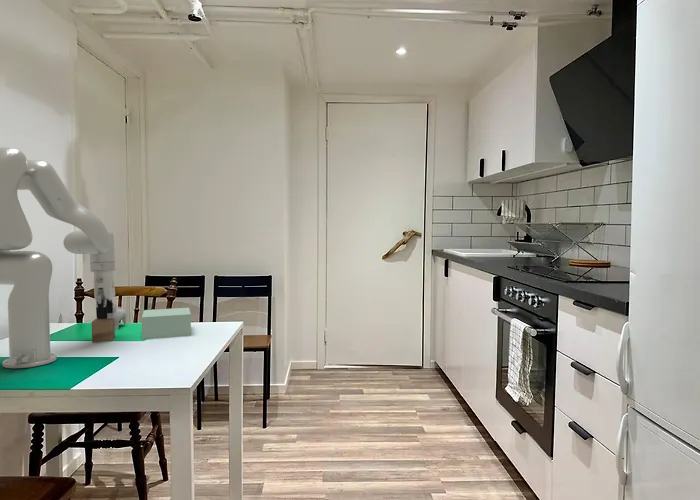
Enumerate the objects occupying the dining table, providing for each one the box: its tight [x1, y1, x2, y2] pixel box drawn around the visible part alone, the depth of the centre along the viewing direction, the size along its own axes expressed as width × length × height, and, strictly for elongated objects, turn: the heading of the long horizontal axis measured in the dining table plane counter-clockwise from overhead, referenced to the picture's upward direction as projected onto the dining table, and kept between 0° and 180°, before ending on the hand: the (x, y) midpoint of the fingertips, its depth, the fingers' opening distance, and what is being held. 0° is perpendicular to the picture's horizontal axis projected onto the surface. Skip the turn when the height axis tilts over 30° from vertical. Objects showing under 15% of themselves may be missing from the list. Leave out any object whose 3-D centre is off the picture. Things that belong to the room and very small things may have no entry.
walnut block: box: [91, 318, 116, 343], centre depth 157 cm, size 6×6×7 cm
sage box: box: [141, 307, 192, 340], centre depth 168 cm, size 16×16×8 cm
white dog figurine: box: [107, 302, 128, 330], centre depth 177 cm, size 5×13×11 cm, turn 2°
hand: (105, 316), depth 158 cm, fingers open, 9 cm apart
